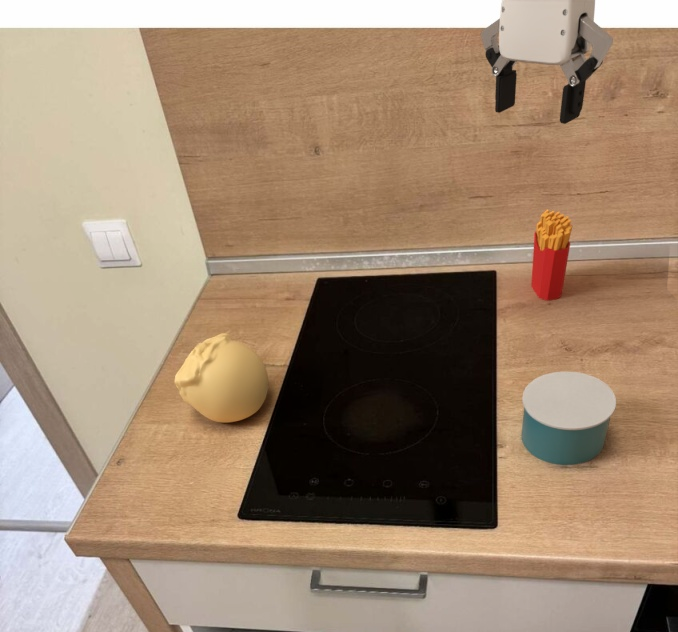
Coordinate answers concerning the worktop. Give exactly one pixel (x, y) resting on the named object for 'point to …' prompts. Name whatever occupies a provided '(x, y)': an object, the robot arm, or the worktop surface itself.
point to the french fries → (550, 255)
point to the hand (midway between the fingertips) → (536, 114)
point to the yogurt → (566, 417)
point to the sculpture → (223, 379)
